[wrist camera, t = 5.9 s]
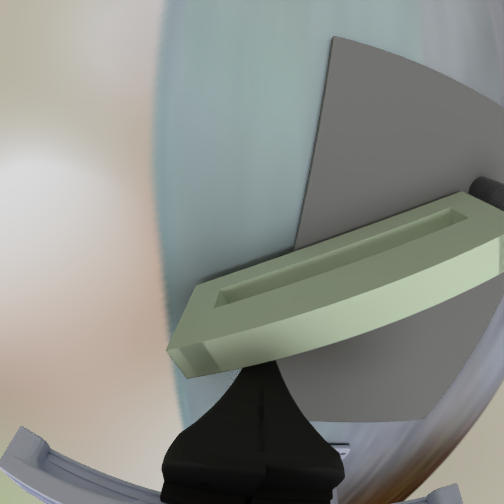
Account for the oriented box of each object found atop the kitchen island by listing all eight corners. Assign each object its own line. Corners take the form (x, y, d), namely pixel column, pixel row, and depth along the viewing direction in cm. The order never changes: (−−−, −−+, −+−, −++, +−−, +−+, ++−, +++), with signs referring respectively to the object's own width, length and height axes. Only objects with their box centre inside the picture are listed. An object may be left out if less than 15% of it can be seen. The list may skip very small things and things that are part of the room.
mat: (422, 414, 19) (424, 419, 18) (253, 409, 19) (252, 414, 18) (542, 139, 10) (547, 140, 9) (331, 39, 10) (334, 35, 9)
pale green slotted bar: (209, 310, 15) (186, 378, 10) (196, 285, 14) (165, 350, 10) (465, 219, 12) (524, 260, 7) (461, 191, 11) (525, 223, 7)
